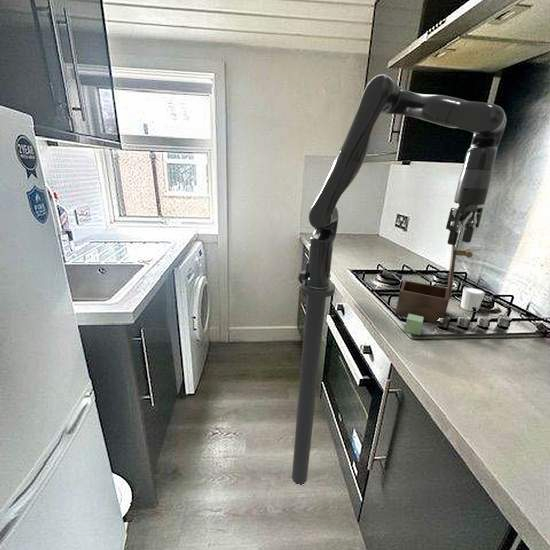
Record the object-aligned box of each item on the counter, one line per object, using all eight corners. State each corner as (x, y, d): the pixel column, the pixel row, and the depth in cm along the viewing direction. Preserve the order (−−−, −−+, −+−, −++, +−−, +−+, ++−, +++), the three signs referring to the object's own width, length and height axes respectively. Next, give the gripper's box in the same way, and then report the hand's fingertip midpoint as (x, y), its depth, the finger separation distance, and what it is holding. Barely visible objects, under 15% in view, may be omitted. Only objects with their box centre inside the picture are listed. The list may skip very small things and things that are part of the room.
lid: (453, 250, 91) (474, 251, 89) (452, 243, 102) (471, 243, 99) (447, 298, 95) (468, 300, 93) (447, 286, 106) (465, 288, 103)
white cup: (473, 304, 115) (477, 287, 113) (484, 312, 109) (489, 294, 107) (455, 303, 116) (459, 286, 113) (465, 311, 109) (470, 293, 107)
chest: (395, 314, 104) (400, 290, 102) (400, 301, 115) (404, 280, 112) (442, 324, 98) (449, 300, 95) (443, 310, 109) (448, 288, 106)
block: (404, 331, 93) (407, 318, 91) (405, 325, 96) (408, 313, 95) (420, 335, 91) (422, 322, 89) (420, 329, 94) (423, 316, 93)
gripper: (471, 186, 91) (458, 239, 96) (446, 185, 84) (433, 242, 89) (499, 187, 85) (483, 244, 91) (474, 187, 78) (459, 248, 83)
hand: (458, 243), depth 90 cm, fingers open, 8 cm apart
